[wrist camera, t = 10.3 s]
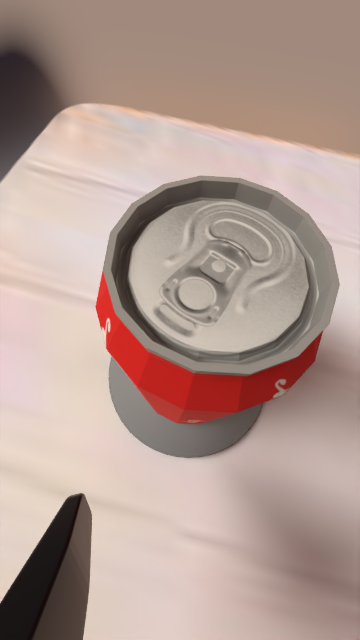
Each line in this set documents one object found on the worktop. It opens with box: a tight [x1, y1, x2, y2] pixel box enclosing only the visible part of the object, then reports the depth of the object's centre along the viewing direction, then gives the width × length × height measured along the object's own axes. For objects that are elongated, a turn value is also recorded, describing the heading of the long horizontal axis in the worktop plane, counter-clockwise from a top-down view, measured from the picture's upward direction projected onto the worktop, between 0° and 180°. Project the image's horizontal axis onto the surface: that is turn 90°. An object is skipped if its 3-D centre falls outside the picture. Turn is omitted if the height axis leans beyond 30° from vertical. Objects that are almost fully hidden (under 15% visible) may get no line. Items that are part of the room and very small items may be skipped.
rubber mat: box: [109, 357, 263, 458], centre depth 17 cm, size 10×10×1 cm
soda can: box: [96, 176, 340, 424], centre depth 11 cm, size 6×6×12 cm
